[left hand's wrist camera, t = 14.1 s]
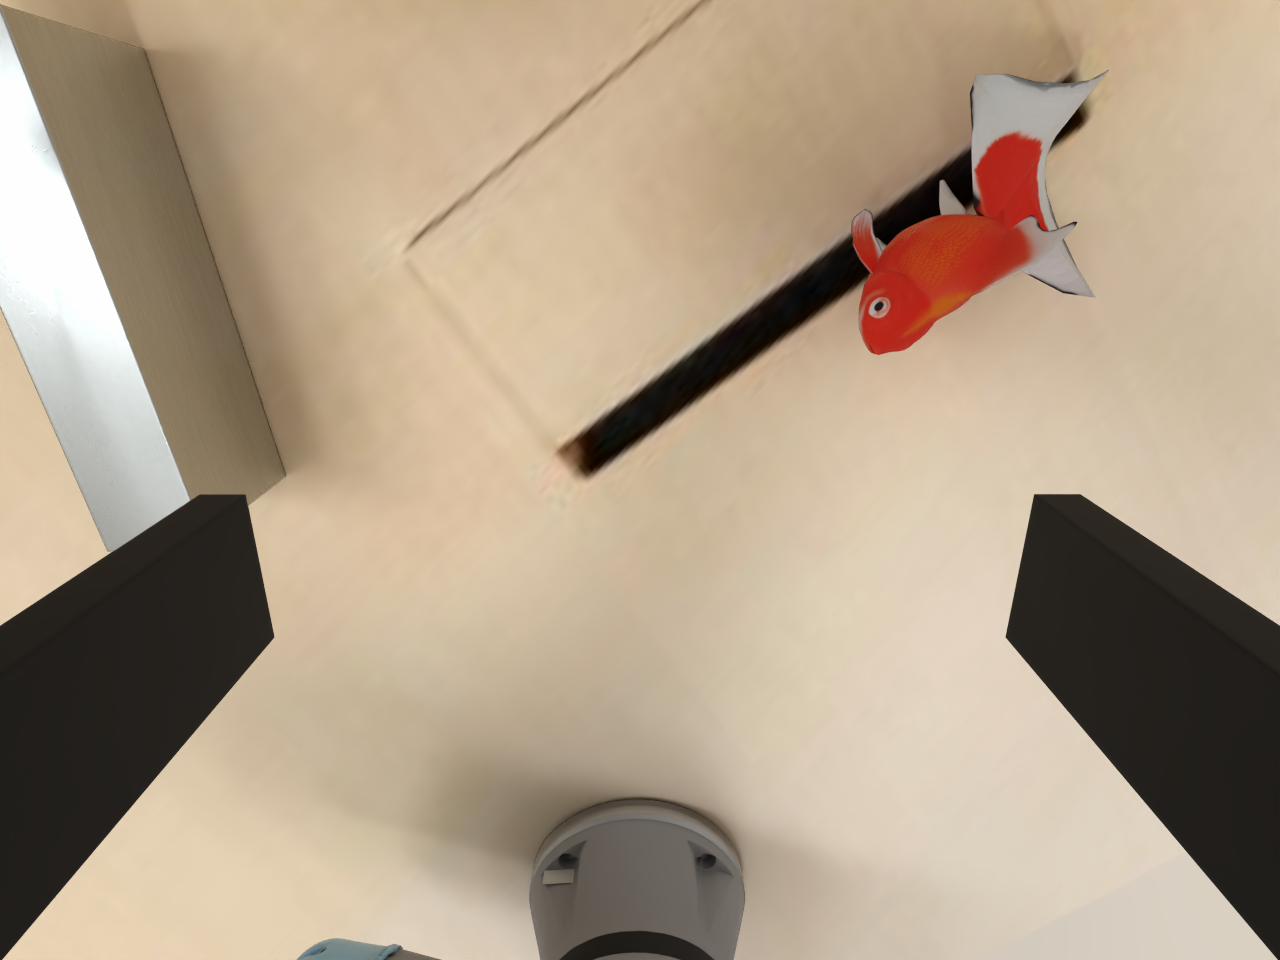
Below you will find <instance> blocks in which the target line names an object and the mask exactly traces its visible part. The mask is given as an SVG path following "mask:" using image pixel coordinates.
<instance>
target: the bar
mask: <svg viewBox="0 0 1280 960" xmlns="http://www.w3.org/2000/svg"><path fill="white" fill-rule="evenodd" d="M0 308H1V310H2V313H3V315H4V317H5V319H6V322H7V324H8V326H9V328H10V331H11V333H12V335H13V338H14V340H15V342H16V344H17V347H18V349H19V351H20V354H21V356H22V358H23V360H24V363H25V365H26V367H27V369H28V372H29V374H30V376H31V379H32V381H33V383H34V385H35V388H36V390H37V392H38V394H39V397H40V399H41V401H42V404H43V406H44V408H45V410H46V413H47V415H48V417H49V419H50V422H51V424H52V426H53V429H54V431H55V433H56V435H57V438H58V440H59V442H60V445H61V447H62V449H63V451H64V454H65V456H66V458H67V460H68V463H69V465H70V467H71V470H72V472H73V474H74V476H75V479H76V481H77V483H78V485H79V488H80V490H81V492H82V495H83V497H84V499H85V501H86V504H87V506H88V508H89V510H90V513H91V515H92V517H93V520H94V522H95V524H96V526H97V529H98V531H99V533H100V536H101V538H102V540H103V542H104V545H105V547H106V549H107V551H108V552H111V551H115V550H116V549H118V548H119V547H121V546H122V545H124V544H125V543H127V542H128V541H130V540H131V539H133V538H134V537H136V536H137V535H139V534H140V533H142V532H143V531H145V530H146V529H148V528H149V527H151V526H152V525H154V524H156V523H157V522H159V521H160V520H162V519H163V518H165V517H166V516H168V515H169V514H171V513H172V512H174V511H175V510H177V509H178V508H180V507H181V506H183V505H184V504H186V503H187V502H189V501H190V500H192V499H193V498H195V497H196V496H198V495H200V494H246V498H247V503H248V505H250V504H251V503H252V502H254V501H255V500H256V499H257V498H259V497H260V496H261V495H263V494H264V493H265V492H267V491H268V490H269V489H270V488H272V487H273V486H274V485H276V484H277V483H278V482H279V481H281V480H282V479H283V478H285V473H284V470H283V467H282V464H281V461H280V458H279V455H278V452H277V449H276V446H275V443H274V440H273V437H272V434H271V431H270V428H269V425H268V422H267V419H266V416H265V413H264V410H263V407H262V404H261V401H260V398H259V395H258V392H257V389H256V386H255V383H254V380H253V377H252V374H251V371H250V368H249V365H248V362H247V359H246V356H245V353H244V350H243V347H242V344H241V340H240V337H239V334H238V331H237V328H236V325H235V322H234V319H233V316H232V313H231V310H230V307H229V304H228V301H227V298H226V295H225V292H224V289H223V286H222V283H221V280H220V277H219V274H218V271H217V268H216V265H215V262H214V259H213V256H212V253H211V250H210V247H209V244H208V241H207V238H206V235H205V232H204V229H203V226H202V223H201V220H200V217H199V214H198V211H197V208H196V205H195V202H194V199H193V196H192V193H191V190H190V187H189V184H188V181H187V178H186V175H185V172H184V169H183V166H182V163H181V160H180V157H179V154H178V151H177V148H176V145H175V142H174V139H173V136H172V133H171V130H170V127H169V124H168V121H167V118H166V115H165V112H164V109H163V106H162V103H161V100H160V97H159V94H158V91H157V88H156V85H155V82H154V79H153V76H152V73H151V70H150V67H149V64H148V61H147V58H146V55H145V52H144V50H143V49H142V48H138V47H135V46H132V45H129V44H126V43H122V42H119V41H116V40H113V39H110V38H106V37H103V36H100V35H97V34H93V33H90V32H87V31H84V30H81V29H77V28H74V27H71V26H68V25H65V24H61V23H58V22H55V21H52V20H49V19H45V18H42V17H39V16H36V15H33V14H29V13H26V12H23V11H20V10H17V9H13V8H10V7H7V6H4V5H0Z"/></svg>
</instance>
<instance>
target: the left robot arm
mask: <svg viewBox="0 0 1280 960" xmlns="http://www.w3.org/2000/svg"><path fill="white" fill-rule="evenodd" d="M273 638H274V633H273V628H272V623H271V618H270V613H269V608H268V603H267V598H266V593H265V588H264V583H263V578H262V573H261V568H260V563H259V558H258V553H257V548H256V543H255V538H254V533H253V528H252V523H251V518H250V513H249V508H248V503H247V498H246V494H200V495H198V496H196V497H195V498H193V499H192V500H190V501H189V502H187V503H186V504H184V505H183V506H181V507H180V508H178V509H177V510H175V511H174V512H172V513H171V514H169V515H168V516H166V517H165V518H163V519H162V520H160V521H159V522H157V523H156V524H154V525H152V526H151V527H149V528H148V529H146V530H145V531H143V532H142V533H140V534H139V535H137V536H136V537H134V538H133V539H131V540H130V541H128V542H127V543H125V544H124V545H122V546H121V547H119V548H118V549H116V550H115V551H113V552H111V553H110V554H108V555H107V556H105V557H104V558H102V559H101V560H99V561H98V562H96V563H95V564H93V565H92V566H90V567H89V568H87V569H86V570H84V571H83V572H81V573H80V574H78V575H77V576H75V577H74V578H72V579H71V580H69V581H67V582H66V583H64V584H63V585H61V586H60V587H58V588H57V589H55V590H54V591H52V592H51V593H49V594H48V595H46V596H45V597H43V598H42V599H40V600H39V601H37V602H36V603H34V604H33V605H31V606H30V607H28V608H27V609H25V610H23V611H22V612H20V613H19V614H17V615H16V616H14V617H13V618H11V619H10V620H8V621H7V622H5V623H4V624H2V625H1V626H0V960H2V959H3V958H4V957H5V956H6V955H7V953H8V952H9V951H10V950H11V949H12V947H13V946H14V945H15V944H16V943H17V941H18V940H19V939H20V938H21V937H22V936H23V934H24V933H25V932H26V931H27V930H28V928H29V927H30V926H31V925H32V924H33V923H34V921H35V920H36V919H37V918H38V917H39V915H40V914H41V913H42V912H43V911H44V910H45V908H46V907H47V906H48V905H49V904H50V902H51V901H52V900H53V899H54V898H55V896H56V895H57V894H58V893H59V892H60V891H61V889H62V888H63V887H64V886H65V885H66V883H67V882H68V881H69V880H70V879H71V878H72V876H73V875H74V874H75V873H76V872H77V870H78V869H79V868H80V867H81V866H82V865H83V863H84V862H85V861H86V860H87V859H88V857H89V856H90V855H91V854H92V853H93V851H94V850H95V849H96V848H97V847H98V846H99V844H100V843H101V842H102V841H103V840H104V838H105V837H106V836H107V835H108V834H109V833H110V831H111V830H112V829H113V828H114V827H115V825H116V824H117V823H118V822H119V821H120V820H121V818H122V817H123V816H124V815H125V814H126V812H127V811H128V810H129V809H130V808H131V806H132V805H133V804H134V803H135V802H136V801H137V799H138V798H139V797H140V796H141V795H142V793H143V792H144V791H145V790H146V789H147V788H148V786H149V785H150V784H151V783H152V782H153V780H154V779H155V778H156V777H157V776H158V775H159V773H160V772H161V771H162V770H163V769H164V767H165V766H166V765H167V764H168V763H169V761H170V760H171V759H172V758H173V757H174V756H175V754H176V753H177V752H178V751H179V750H180V748H181V747H182V746H183V745H184V744H185V743H186V741H187V740H188V739H189V738H190V737H191V735H192V734H193V733H194V732H195V731H196V729H197V728H198V727H199V726H200V725H201V724H202V722H203V721H204V720H205V719H206V718H207V716H208V715H209V714H210V713H211V712H212V711H213V709H214V708H215V707H216V706H217V705H218V703H219V702H220V701H221V700H222V699H223V698H224V696H225V695H226V694H227V693H228V692H229V690H230V689H231V688H232V687H233V686H234V684H235V683H236V682H237V681H238V680H239V679H240V677H241V676H242V675H243V674H244V673H245V671H246V670H247V669H248V668H249V667H250V666H251V664H252V663H253V662H254V661H255V660H256V658H257V657H258V656H259V655H260V654H261V653H262V651H263V650H264V649H265V648H266V647H267V645H268V644H269V643H270V642H271V641H272V639H273ZM1006 638H1007V639H1008V641H1009V642H1010V643H1011V644H1012V645H1013V647H1014V648H1015V649H1016V650H1017V651H1018V653H1019V654H1020V655H1021V656H1022V657H1023V658H1024V660H1025V661H1026V662H1027V663H1028V664H1029V666H1030V667H1031V668H1032V669H1033V670H1034V671H1035V673H1036V674H1037V675H1038V676H1039V677H1040V679H1041V680H1042V681H1043V682H1044V683H1045V684H1046V686H1047V687H1048V688H1049V689H1050V690H1051V692H1052V693H1053V694H1054V695H1055V696H1056V698H1057V699H1058V700H1059V701H1060V702H1061V703H1062V705H1063V706H1064V707H1065V708H1066V709H1067V711H1068V712H1069V713H1070V714H1071V715H1072V716H1073V718H1074V719H1075V720H1076V721H1077V722H1078V724H1079V725H1080V726H1081V727H1082V728H1083V729H1084V731H1085V732H1086V733H1087V734H1088V735H1089V737H1090V738H1091V739H1092V740H1093V741H1094V743H1095V744H1096V745H1097V746H1098V747H1099V748H1100V750H1101V751H1102V752H1103V753H1104V754H1105V756H1106V757H1107V758H1108V759H1109V760H1110V761H1111V763H1112V764H1113V765H1114V766H1115V767H1116V769H1117V770H1118V771H1119V772H1120V773H1121V775H1122V776H1123V777H1124V778H1125V779H1126V780H1127V782H1128V783H1129V784H1130V785H1131V786H1132V788H1133V789H1134V790H1135V791H1136V792H1137V793H1138V795H1139V796H1140V797H1141V798H1142V799H1143V801H1144V802H1145V803H1146V804H1147V805H1148V806H1149V808H1150V809H1151V810H1152V811H1153V812H1154V814H1155V815H1156V816H1157V817H1158V818H1159V820H1160V821H1161V822H1162V823H1163V824H1164V825H1165V827H1166V828H1167V829H1168V830H1169V831H1170V833H1171V834H1172V835H1173V836H1174V837H1175V838H1176V840H1177V841H1178V842H1179V843H1180V844H1181V846H1182V847H1183V848H1184V849H1185V850H1186V851H1187V853H1188V854H1189V855H1190V856H1191V857H1192V859H1193V860H1194V861H1195V862H1196V863H1197V865H1198V866H1199V867H1200V868H1201V869H1202V870H1203V872H1204V873H1205V874H1206V875H1207V876H1208V878H1209V879H1210V880H1211V881H1212V882H1213V883H1214V885H1215V886H1216V887H1217V888H1218V889H1219V891H1220V892H1221V893H1222V894H1223V895H1224V896H1225V898H1226V899H1227V900H1228V901H1229V902H1230V904H1231V905H1232V906H1233V907H1234V908H1235V910H1236V911H1237V912H1238V913H1239V914H1240V915H1241V917H1242V918H1243V919H1244V920H1245V921H1246V923H1247V924H1248V925H1249V926H1250V927H1251V928H1252V930H1253V931H1254V932H1255V933H1256V934H1257V936H1258V937H1259V938H1260V939H1261V940H1262V941H1263V943H1264V944H1265V945H1266V946H1267V947H1268V949H1269V950H1270V951H1271V952H1272V953H1273V954H1274V956H1275V957H1276V958H1277V959H1278V960H1280V626H1279V625H1278V624H1276V623H1275V622H1273V621H1272V620H1270V619H1269V618H1267V617H1266V616H1264V615H1263V614H1261V613H1260V612H1258V611H1257V610H1255V609H1253V608H1252V607H1250V606H1249V605H1247V604H1246V603H1244V602H1243V601H1241V600H1240V599H1238V598H1237V597H1235V596H1234V595H1232V594H1231V593H1229V592H1228V591H1226V590H1225V589H1223V588H1222V587H1220V586H1219V585H1217V584H1216V583H1214V582H1213V581H1211V580H1209V579H1208V578H1206V577H1205V576H1203V575H1202V574H1200V573H1199V572H1197V571H1196V570H1194V569H1193V568H1191V567H1190V566H1188V565H1187V564H1185V563H1184V562H1182V561H1181V560H1179V559H1178V558H1176V557H1175V556H1173V555H1172V554H1170V553H1168V552H1167V551H1165V550H1164V549H1162V548H1161V547H1159V546H1158V545H1156V544H1155V543H1153V542H1152V541H1150V540H1149V539H1147V538H1146V537H1144V536H1143V535H1141V534H1140V533H1138V532H1137V531H1135V530H1134V529H1132V528H1131V527H1129V526H1128V525H1126V524H1124V523H1123V522H1121V521H1120V520H1118V519H1117V518H1115V517H1114V516H1112V515H1111V514H1109V513H1108V512H1106V511H1105V510H1103V509H1102V508H1100V507H1099V506H1097V505H1096V504H1094V503H1093V502H1091V501H1090V500H1088V499H1087V498H1085V497H1084V496H1082V495H1080V494H1034V498H1033V503H1032V508H1031V513H1030V518H1029V523H1028V528H1027V533H1026V538H1025V543H1024V548H1023V553H1022V558H1021V563H1020V568H1019V573H1018V578H1017V583H1016V588H1015V593H1014V598H1013V603H1012V608H1011V613H1010V618H1009V623H1008V628H1007V633H1006ZM744 904H745V892H744V885H743V878H742V871H741V865H740V862H739V858H738V856H737V853H736V851H735V849H734V847H733V846H732V844H731V842H730V841H729V840H728V838H727V837H726V836H725V835H724V834H723V833H722V831H721V830H720V829H718V828H717V827H716V826H715V825H714V824H713V823H711V822H710V821H708V820H707V819H706V818H704V817H702V816H701V815H699V814H697V813H695V812H693V811H691V810H689V809H686V808H683V807H680V806H677V805H674V804H670V803H666V802H661V801H654V800H640V799H635V800H621V801H613V802H608V803H604V804H600V805H597V806H594V807H591V808H588V809H586V810H584V811H582V812H579V813H577V814H575V815H574V816H572V817H570V818H569V819H567V820H566V821H564V822H563V823H562V824H560V825H559V826H558V827H557V828H556V829H555V830H554V831H553V832H552V833H551V834H550V835H549V836H548V837H547V839H546V840H545V842H544V843H543V844H542V846H541V848H540V850H539V852H538V854H537V857H536V860H535V863H534V868H533V874H532V880H531V887H530V908H531V914H532V919H533V924H534V929H535V935H536V940H537V945H538V950H539V955H540V960H733V959H734V954H735V950H736V945H737V940H738V935H739V930H740V926H741V921H742V916H743V910H744ZM297 960H440V959H436V958H432V957H429V956H425V955H421V954H417V953H414V952H410V951H406V950H403V948H402V947H401V946H399V945H397V944H392V945H389V946H387V947H386V946H380V945H374V944H367V943H362V942H357V941H351V940H346V939H338V938H335V939H329V940H324V941H322V942H319V943H317V944H315V945H314V946H312V947H311V948H309V949H308V950H306V951H305V952H304V953H303V954H302V955H301V956H300V957H299V958H298V959H297Z"/></svg>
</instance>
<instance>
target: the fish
mask: <svg viewBox="0 0 1280 960" xmlns="http://www.w3.org/2000/svg"><path fill="white" fill-rule="evenodd" d="M1108 71H1109V70H1107V71H1106V72H1104V73H1102V74H1101V75H1099V76H1097V77H1095V78H1093V79H1091V80H1089V81H1081V82H1073V83H1065V84H1064V83H1049V82H1035V81H1031V80H1027V79H1023V78H1020V77H1016V76H1012V75H1009V74H993V75H976V78H975V81H974V84H973V86H972V89H971V92H970V102H971V119H972V178H973V200H974V209H975V211H976V213H977V215H967V212H966V210H965V208H964V207H963V205H962V204H961V203H960V202H959V201H958V199H957V198H956V197H955V196H954V194H953V193H952V192H951V190H950V189H949V187H948V186H947V184H946V182H945V181H944V180H941V181H940V195H939V205H940V211H941V215H939V216H935V217H931V218H929V219H926V220H923V221H921V222H919V223H917V224H915V225H912V226H910V227H908V228H907V229H905V230H903V231H902V232H900V233H899V234H898V235H897V236H896V237H895V238H894V239H893V240H892V241H891V242H890V243H889V244H888V245H886V244H884V243H883V242H882V241H881V240H879V239H878V238H876V236H875V234H874V230H873V217H872V213H871V212H870V211H869V210H866V209H864V210H863V211H861V212H860V213H859V214H857V215H856V216H855V217H854V219H853V221H852V226H851V231H852V235H853V246H854V248H855V250H856V253H857V255H858V257H859V259H860V260H861V261H862V263H863V264H864V265H865V267H866V268H867V269H868V270H869V272H870V275H869V277H868V280H867V282H866V283H865V285H864V288H863V293H862V297H861V302H860V307H859V330H860V333H861V336H862V339H863V342H864V343H865V345H866V347H867V348H868V350H869V351H870V352H871V353H874V354H877V355H880V354H884V353H888V352H893V351H902V350H905V349H907V348H909V347H910V346H911V345H912V344H913V343H914V342H916V341H917V340H919V339H920V338H921V337H922V336H923V335H925V334H926V332H927V331H928V330H929V329H930V328H931V327H932V325H933V324H934V322H936V321H937V320H938V319H940V318H942V317H943V316H945V315H947V314H949V313H951V312H953V311H954V310H956V309H958V308H959V307H960V306H962V305H963V304H964V303H965V302H966V301H968V300H969V299H970V297H971V296H973V295H975V294H978V293H980V292H982V291H984V290H985V289H987V288H989V287H991V286H993V285H995V284H997V283H999V282H1001V281H1003V280H1005V279H1007V278H1009V277H1011V276H1013V275H1015V274H1017V273H1020V272H1024V273H1026V274H1028V275H1030V276H1032V277H1034V278H1036V279H1037V280H1039V281H1041V282H1043V283H1045V284H1047V285H1049V286H1051V287H1053V288H1055V289H1056V290H1058V291H1060V292H1062V293H1066V294H1074V295H1081V296H1088V297H1095V296H1094V294H1093V293H1092V291H1091V289H1090V288H1089V286H1088V285H1087V283H1086V281H1085V280H1084V278H1083V276H1082V275H1081V273H1080V271H1079V270H1078V268H1077V267H1076V264H1075V262H1074V260H1073V258H1072V256H1071V254H1070V252H1069V249H1068V247H1067V245H1066V243H1065V241H1064V239H1063V238H1064V237H1065V236H1066V235H1067V234H1068V233H1069V232H1070V231H1071V230H1072V229H1073V228H1074V226H1075V225H1076V224H1077V222H1072V223H1070V224H1068V225H1066V226H1063V227H1061V228H1058V226H1057V223H1056V220H1055V217H1054V214H1053V211H1052V208H1051V205H1050V202H1049V199H1048V195H1047V192H1046V184H1045V163H1046V158H1047V154H1048V151H1049V149H1050V146H1051V144H1052V142H1053V140H1054V139H1055V137H1056V135H1057V134H1058V133H1059V131H1060V130H1061V129H1062V128H1063V126H1064V125H1065V124H1066V123H1067V121H1068V120H1069V119H1070V118H1071V116H1072V115H1073V114H1074V112H1075V111H1076V110H1077V109H1078V107H1079V106H1080V105H1081V104H1082V102H1083V101H1084V100H1085V98H1086V97H1087V96H1088V95H1089V93H1090V92H1091V91H1092V90H1093V88H1094V87H1095V86H1096V85H1097V84H1098V82H1099V81H1100V80H1101V79H1102V78H1103V77H1104V76H1105V74H1106V73H1107V72H1108Z"/></svg>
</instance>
